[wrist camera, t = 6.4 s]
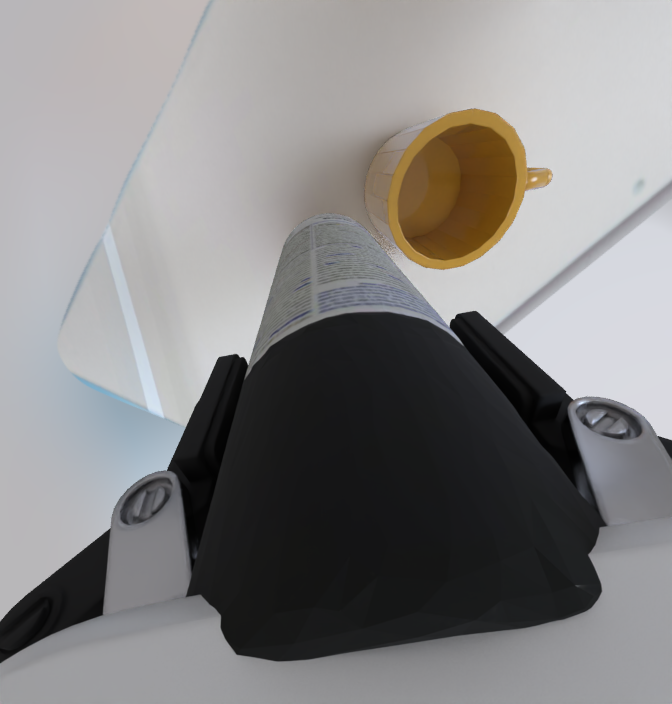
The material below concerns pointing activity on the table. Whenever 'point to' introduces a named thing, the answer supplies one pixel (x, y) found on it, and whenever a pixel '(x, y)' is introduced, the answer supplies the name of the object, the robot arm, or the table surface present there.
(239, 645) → the spray can
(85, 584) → the robot arm
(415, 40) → the table surface
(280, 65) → the table surface
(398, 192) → the mug
